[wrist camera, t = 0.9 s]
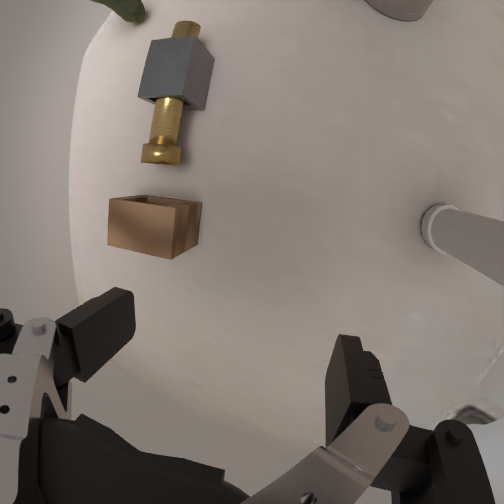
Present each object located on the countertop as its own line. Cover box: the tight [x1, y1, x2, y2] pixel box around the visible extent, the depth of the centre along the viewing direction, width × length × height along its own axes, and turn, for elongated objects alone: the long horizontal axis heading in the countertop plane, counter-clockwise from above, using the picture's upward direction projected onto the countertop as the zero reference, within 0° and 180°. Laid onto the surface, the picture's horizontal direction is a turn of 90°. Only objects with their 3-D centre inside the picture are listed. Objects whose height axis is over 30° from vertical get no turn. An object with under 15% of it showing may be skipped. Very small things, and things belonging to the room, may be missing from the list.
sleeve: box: [138, 36, 215, 110], centre depth 26 cm, size 7×5×7 cm
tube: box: [141, 21, 201, 166], centre depth 26 cm, size 17×4×4 cm, turn 171°
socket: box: [108, 195, 202, 259], centre depth 30 cm, size 5×8×7 cm, turn 81°
